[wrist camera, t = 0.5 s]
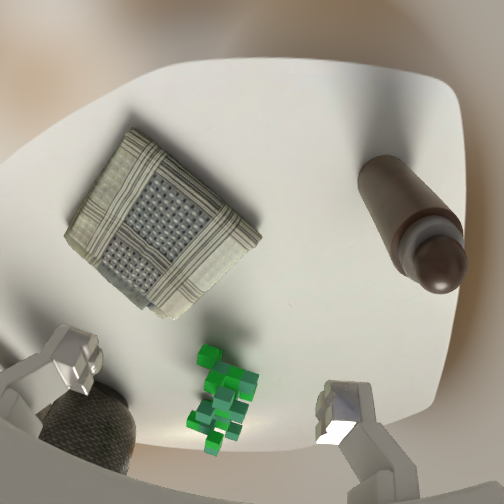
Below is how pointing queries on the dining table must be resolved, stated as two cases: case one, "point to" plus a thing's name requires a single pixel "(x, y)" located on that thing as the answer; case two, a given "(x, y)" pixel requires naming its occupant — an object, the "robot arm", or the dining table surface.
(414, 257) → the pepper mill
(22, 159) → the dining table surface
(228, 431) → the building blocks
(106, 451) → the planter
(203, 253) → the dish towel
